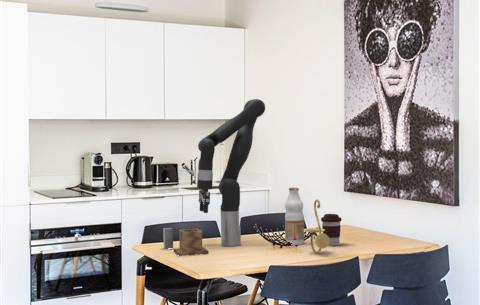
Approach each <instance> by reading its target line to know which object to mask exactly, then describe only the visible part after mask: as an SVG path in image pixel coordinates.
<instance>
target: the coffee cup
mask: <svg viewBox="0 0 480 305" xmlns="http://www.w3.org/2000/svg"><path fill="white" fill-rule="evenodd" d="M320 222H321V223H322V224H321V227H322V228H321V229H325V231H323V232H322V233H324V234H326V235H327V236H328V237H329V244H328V246H327V247H337V246H340V237H341V226H342V225H341V222H342V217H340V216H339V214H336V213H327V214H326V213H325V214H324V215H323V217H320Z"/></svg>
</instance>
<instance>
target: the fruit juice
mask: <svg viewBox="0 0 480 305" xmlns="http://www.w3.org/2000/svg"><path fill="white" fill-rule="evenodd" d="M288 191H289V194H288V196H287V199H286V201H285V203H284V204H285V205H284V209H285V214H284V226H285V227H284V228H285V230H284V232H285V234H284V236H285V237H284V238H285V240H286V241H287V242H290V243H292V244H291V246H299V245H300V246H301V245H304V244H305V231H304V230H305V219H304V218H305V215H304V212H303V209H304V203H303V201H302V200H301V197H300V193H299V191H300V188H299V187H289V188H288Z"/></svg>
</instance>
